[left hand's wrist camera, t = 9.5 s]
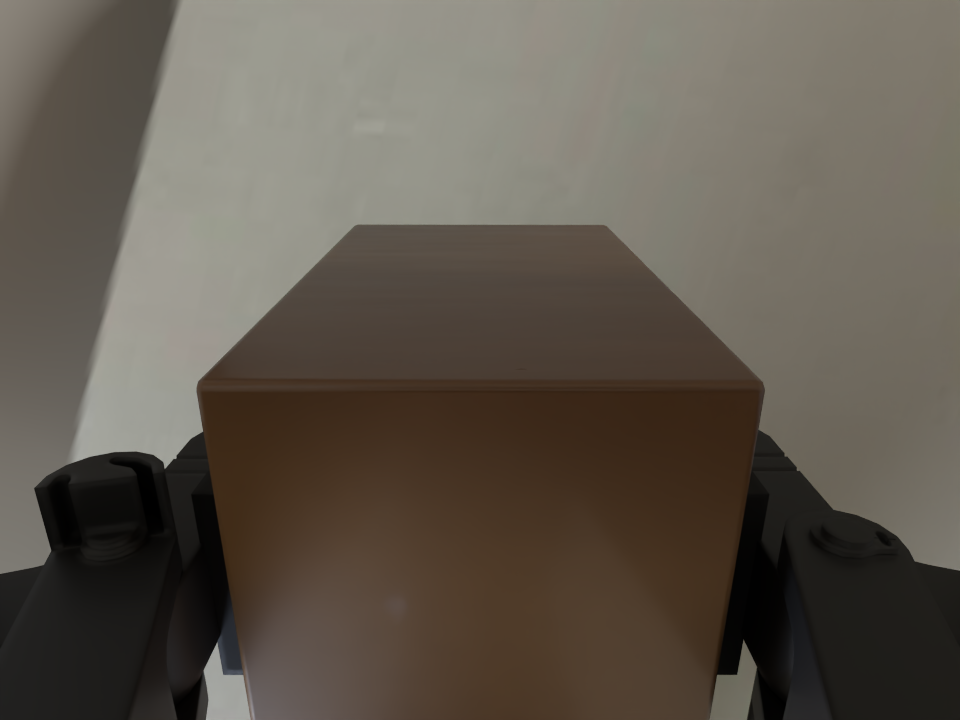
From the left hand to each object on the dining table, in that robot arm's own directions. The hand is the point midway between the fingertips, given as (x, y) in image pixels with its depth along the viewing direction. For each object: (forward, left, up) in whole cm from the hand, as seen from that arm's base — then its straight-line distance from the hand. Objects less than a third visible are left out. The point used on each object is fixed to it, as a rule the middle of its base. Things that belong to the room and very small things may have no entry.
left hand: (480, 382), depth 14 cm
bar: (+8, +2, -1) cm, 9 cm away
